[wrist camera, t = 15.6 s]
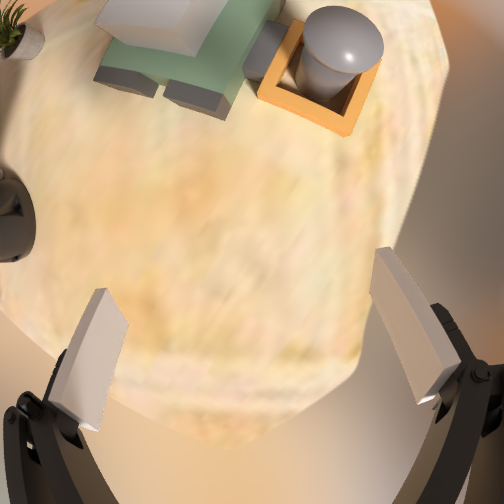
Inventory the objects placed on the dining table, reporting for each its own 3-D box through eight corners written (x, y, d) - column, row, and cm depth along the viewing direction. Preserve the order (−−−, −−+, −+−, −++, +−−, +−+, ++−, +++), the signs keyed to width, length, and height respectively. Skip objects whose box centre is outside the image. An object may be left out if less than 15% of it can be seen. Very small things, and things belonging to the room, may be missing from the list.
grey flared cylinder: (283, 90, 28) (291, 48, 16) (303, 49, 26) (319, -5, 14) (333, 112, 29) (370, 85, 16) (351, 71, 27) (391, 30, 14)
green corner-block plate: (117, 89, 29) (55, 68, 16) (177, -18, 23) (146, -67, 10) (330, 166, 31) (368, 169, 18) (381, 45, 25) (426, 4, 12)
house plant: (55, 73, 27) (-19, 57, 12) (8, 97, 28) (-56, 95, 13) (70, 6, 23) (12, -23, 7) (21, 35, 24) (-34, 21, 8)
